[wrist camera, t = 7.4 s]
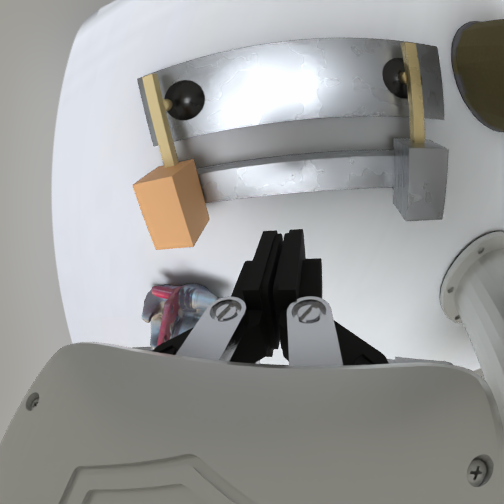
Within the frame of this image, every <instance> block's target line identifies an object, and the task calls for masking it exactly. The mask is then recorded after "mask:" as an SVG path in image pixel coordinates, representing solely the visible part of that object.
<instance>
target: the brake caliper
mask: <svg viewBox="0 0 504 504" xmlns="http://www.w3.org/2000/svg"><path fill="white" fill-rule="evenodd" d="M218 299H219V298H218V297H216V296H215V295H214V294H212V293H210V292H209V290H208V289H207V288H206V287H204V286H202V285H199V284H186V285H183V286H171V285H163V286H154V287H152V290H151V291H150V292H148V294H147V296H146V299H145V301H144V308H143V313H142V319H143V320H144V321H145V322H147V323H149V322H150V321H151V341H150V345H151V347H152V348H153V349H155V348H156V347H157V346H158V345H160V344H162V343H164V342H166V341H168V340H170V339H172V338H174V337H175V336H177V335H179V334H181V333H183V332H185V331H187V330H189V329H191V328H193V327H195V325H196V324H197V322H198V321H199V319H200V318H201V316H202V315H203V313H204V312H205V310H206V309H207V307H208V306H209V305H210V304H211V303H212V302H214V301H215V300H218Z"/></svg>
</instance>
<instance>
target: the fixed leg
mask: <svg viewBox="0 0 504 504" xmlns="http://www.w3.org/2000/svg"><path fill="white" fill-rule="evenodd" d="M401 49H402V55H403V61H404V68H405V71H404V72H400V73H399V75H398V79H399V81H400V82H401V83H402V84H404V85H407V93H408V105H409V121H410V139H393V141H394V192H393V204H394V205H395V206H396V208H397V209H398V211H399V212H400V213H401V215H402V216H403V218H404V219H405V221H419V220H440V219H442V217H443V210H444V203H445V194H446V184H447V171H448V151H449V150H448V149H447V148H445V147H443V146H441V145H439V144H437V143H435V142H433V141H431V140H428V139H425V133H424V108H423V95H422V84H421V76H420V68H419V61H418V54H417V49H416V44H415V43H408V42H404V43H401Z"/></svg>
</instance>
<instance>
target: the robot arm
mask: <svg viewBox="0 0 504 504" xmlns="http://www.w3.org/2000/svg"><path fill="white" fill-rule="evenodd" d="M440 303H441V306H442V309H443V311H444V313H445V315H446V316H447V317H448V318H449V319H450V320H452V321H454V322H459V323H463V324H464V326H465V329H466V331H467V333H468V335H469V338H470V340H471V343H472V345H473V348H474V350H475V353H476V355H477V358H478V361H479V363H480V366H481V369H482V372H483V374H484V377H485V380H484V379H483V378H482V376H480V375H479V374H477V373H476V372H474V371H472V370H469V369H466V368H464V367H460V366H455V365H453V364H452V363H449V362H445V361H434V360H422V359H412V358H402V357H395V360H392V359H386V357H385V356H384V355H383V354H382V353H381V352H379V351H378V350H376V349H375V348H374V347H372V346H371V345H369V344H368V343H366V342H365V341H363V340H362V339H360V338H359V337H357V336H356V335H355V334H353V333H352V332H350V331H349V330H347V329H346V328H344V327H343V326H341V325H340V324H338V323H337V322H336V321H334V320H333V315H332V311H331V307H330V305H329V303H327V302H326V301H325V300H324V299H322V262H321V259H306V258H305V246H304V235H303V229H297V230H290V231H289V233H285V235H284V240H283V238H282V234H277V231H263V234H262V236H261V239H260V242H259V245H258V248H257V250H256V253H255V256H254V259H253V261H245V263H244V265H243V268H242V270H241V273H240V275H239V278H238V280H237V283H236V285H235V288H234V290H233V293H232V295H231V297H223V298H220V299H218V300H215V301H214V302H212V303H211V304H210V305H209V306H208V307H207V309H206V310H205V312H204V313H203V315H202V316H201V318H200V319H199V321H198V322H197V324H196V325H195V327H193V328H191V329H189V330H187V331H185V332H183V333H181V334H179V335H177V336H175V337H174V338H172V339H170V340H168V341H166V342H164V343H162V344H160V345H158V346H157V347H156V348H155V349H153V348H152V347H136V348H129V347H124V346H119V345H113V344H106V343H98V342H80V343H74V344H70V345H67V346H64V347H62V348H60V349H59V350H58V351H57V352H56V353H55V354H54V355H53V356H52V357H51V359H50V360H49V361H48V362H47V364H46V365H45V366H44V368H43V369H42V370H41V372H40V374H39V375H38V376H37V378H36V379H35V381H34V382H33V384H32V385H31V387H30V389H29V390H28V392H27V394H26V395H25V397H24V399H23V401H22V402H21V404H20V406H19V407H18V409H17V411H16V413H15V415H14V417H13V419H12V420H11V422H10V425H9V426H8V429H7V430H6V433H5V435H4V437H3V439H2V441H1V444H0V504H504V232H502V231H501V232H492V233H489V234H486V235H484V236H482V237H480V238H478V239H477V240H476V241H474V242H473V243H472V244H470V245H469V246H468V247H467V248H466V249H465V250H464V251H463V252H462V253H461V254H460V255H459V256H458V258H457V259H456V260H455V261H454V263H453V264H452V266H451V267H450V269H449V270H448V272H447V274H446V276H445V278H444V281H443V284H442V287H441V293H440ZM279 342H281V348H282V350H283V356H284V357H285V358H286V359H287V360H288V361H289V365H271V364H260V359H262V358H264V357H272V355H273V350H274V349H278V347H279Z"/></svg>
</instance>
